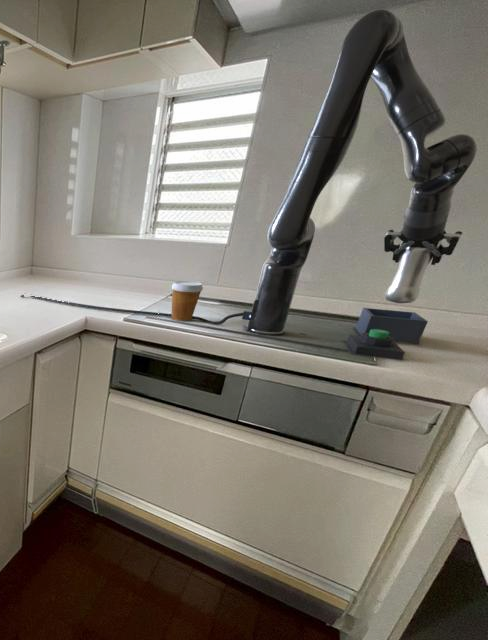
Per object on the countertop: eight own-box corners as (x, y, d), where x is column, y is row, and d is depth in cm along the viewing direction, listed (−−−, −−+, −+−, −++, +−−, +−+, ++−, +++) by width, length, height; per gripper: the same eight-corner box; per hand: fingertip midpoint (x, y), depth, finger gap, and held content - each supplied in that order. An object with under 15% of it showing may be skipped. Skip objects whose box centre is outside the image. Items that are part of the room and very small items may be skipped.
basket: (363, 338, 116) (371, 315, 114) (355, 328, 125) (363, 307, 123) (418, 344, 111) (428, 321, 108) (405, 334, 120) (415, 312, 117)
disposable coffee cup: (166, 320, 135) (173, 284, 130) (165, 314, 143) (171, 280, 138) (198, 323, 132) (205, 286, 127) (195, 316, 140) (202, 281, 135)
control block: (354, 354, 103) (359, 339, 102) (346, 342, 113) (351, 328, 111) (401, 360, 99) (407, 345, 98) (389, 347, 108) (394, 333, 107)
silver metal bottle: (381, 299, 118) (407, 227, 111) (413, 302, 114) (443, 227, 107) (383, 303, 113) (410, 228, 106) (416, 306, 110) (447, 228, 102)
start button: (369, 338, 104) (372, 331, 103) (366, 334, 107) (369, 328, 106) (388, 340, 102) (390, 333, 102) (384, 336, 105) (387, 330, 104)
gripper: (475, 203, 94) (459, 252, 106) (393, 204, 105) (386, 248, 116) (463, 228, 93) (447, 275, 105) (381, 226, 104) (375, 269, 115)
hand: (415, 261), depth 110 cm, fingers closed on silver metal bottle, 6 cm apart
